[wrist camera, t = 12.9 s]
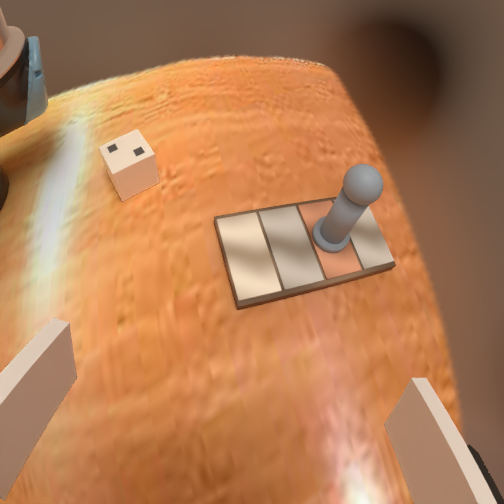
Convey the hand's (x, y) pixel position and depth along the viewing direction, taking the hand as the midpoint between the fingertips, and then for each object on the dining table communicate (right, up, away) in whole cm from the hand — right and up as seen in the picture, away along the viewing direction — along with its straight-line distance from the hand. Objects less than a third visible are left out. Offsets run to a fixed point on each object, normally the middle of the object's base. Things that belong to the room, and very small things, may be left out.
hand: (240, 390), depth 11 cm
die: (-17, +16, +33) cm, 40 cm away
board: (+8, +6, +31) cm, 33 cm away
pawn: (+10, +7, +30) cm, 33 cm away
